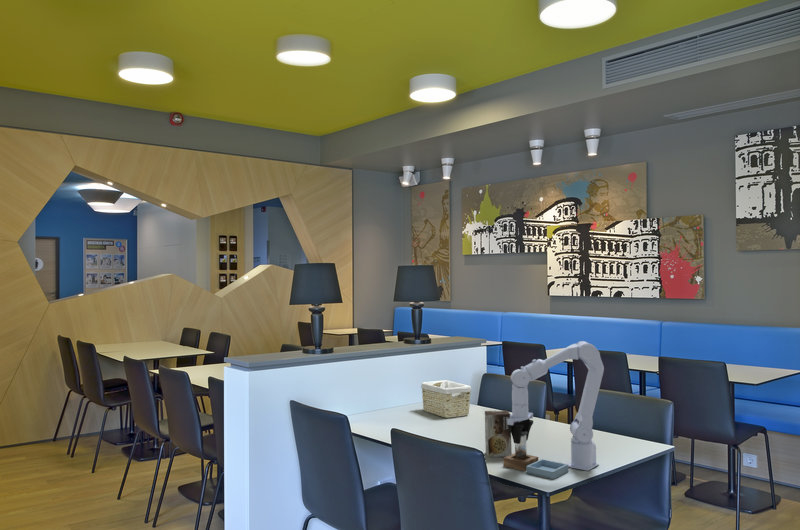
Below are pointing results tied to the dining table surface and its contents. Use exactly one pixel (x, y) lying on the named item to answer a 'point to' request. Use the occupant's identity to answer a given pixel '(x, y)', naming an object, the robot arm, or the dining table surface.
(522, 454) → the glass jar
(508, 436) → the coffee box
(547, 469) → the slate-blue tray
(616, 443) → the dining table surface
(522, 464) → the wooden square frame
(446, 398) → the storage basket
